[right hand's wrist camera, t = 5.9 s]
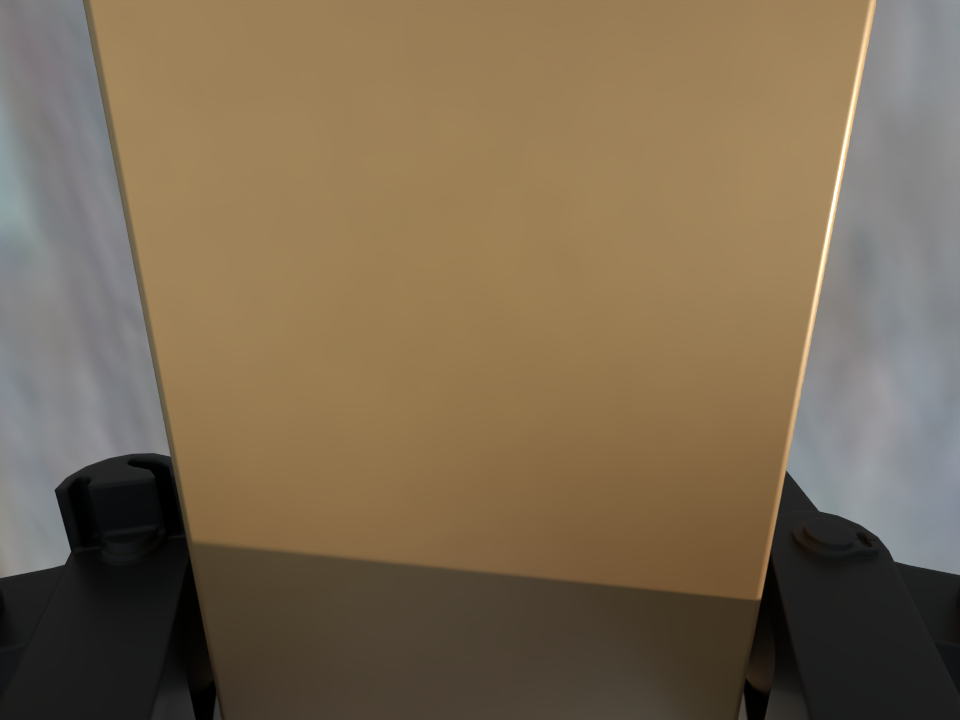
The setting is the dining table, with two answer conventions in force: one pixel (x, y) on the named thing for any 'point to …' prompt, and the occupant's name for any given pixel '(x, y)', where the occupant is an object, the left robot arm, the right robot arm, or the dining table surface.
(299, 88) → the bar
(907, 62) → the dining table surface
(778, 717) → the right robot arm
